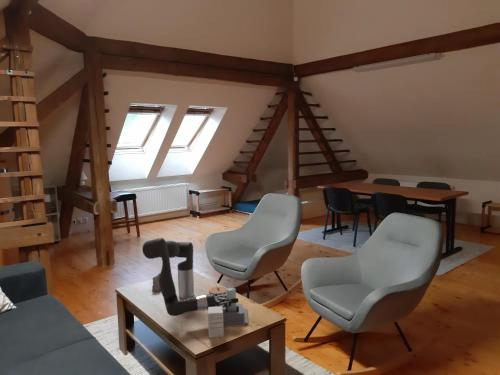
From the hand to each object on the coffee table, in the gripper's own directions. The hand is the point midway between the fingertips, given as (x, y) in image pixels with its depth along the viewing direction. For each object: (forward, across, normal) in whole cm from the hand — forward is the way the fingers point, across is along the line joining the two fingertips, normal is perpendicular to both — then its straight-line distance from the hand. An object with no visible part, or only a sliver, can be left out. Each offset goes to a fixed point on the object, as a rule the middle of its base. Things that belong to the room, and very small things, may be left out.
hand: (236, 297), depth 211 cm
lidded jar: (-5, +21, +11) cm, 25 cm away
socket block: (-2, 0, +11) cm, 11 cm away
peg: (-3, 0, +10) cm, 10 cm away
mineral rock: (-34, +55, +11) cm, 66 cm away
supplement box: (-14, -13, +11) cm, 23 cm away
